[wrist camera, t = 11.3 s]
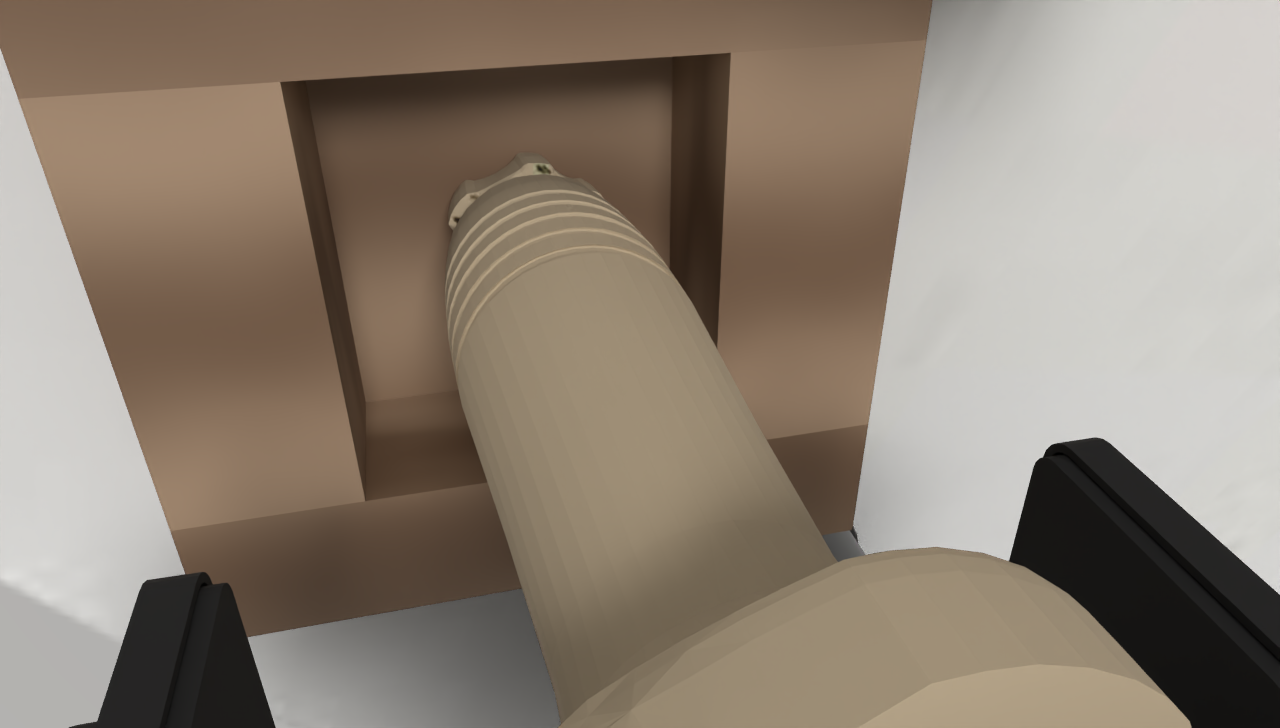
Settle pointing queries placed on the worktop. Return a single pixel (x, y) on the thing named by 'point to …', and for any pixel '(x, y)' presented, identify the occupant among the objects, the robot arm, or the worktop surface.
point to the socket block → (446, 244)
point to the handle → (715, 515)
